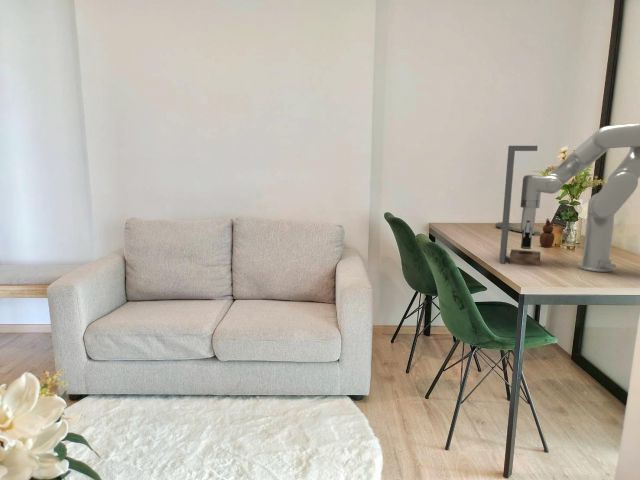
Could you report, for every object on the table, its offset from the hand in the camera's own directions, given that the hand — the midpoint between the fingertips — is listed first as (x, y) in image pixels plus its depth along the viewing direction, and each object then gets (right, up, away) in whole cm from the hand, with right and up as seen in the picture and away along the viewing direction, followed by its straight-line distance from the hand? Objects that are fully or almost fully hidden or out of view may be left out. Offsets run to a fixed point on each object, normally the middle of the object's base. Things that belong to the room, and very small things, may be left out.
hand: (526, 245), depth 210 cm
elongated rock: (+31, +7, +87) cm, 92 cm away
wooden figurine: (+26, -1, +37) cm, 45 cm away
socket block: (0, -7, +1) cm, 7 cm away
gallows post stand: (-4, -7, +3) cm, 9 cm away
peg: (0, -1, 0) cm, 1 cm away
